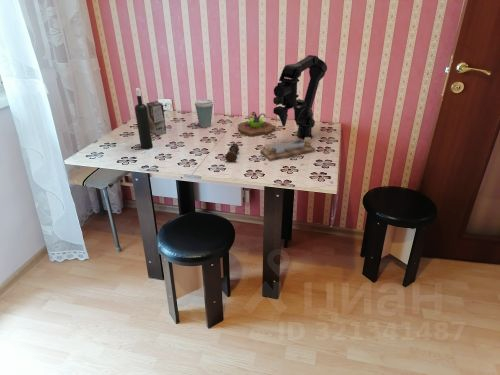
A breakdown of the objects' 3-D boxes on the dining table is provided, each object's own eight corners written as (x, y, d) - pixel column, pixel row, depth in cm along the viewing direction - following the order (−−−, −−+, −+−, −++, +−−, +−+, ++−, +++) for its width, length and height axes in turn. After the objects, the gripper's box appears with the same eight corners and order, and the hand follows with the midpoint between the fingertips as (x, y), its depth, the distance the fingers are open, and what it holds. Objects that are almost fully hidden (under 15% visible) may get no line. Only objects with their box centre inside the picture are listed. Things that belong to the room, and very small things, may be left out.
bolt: (236, 153, 187) (232, 165, 174) (228, 148, 187) (223, 160, 173) (242, 143, 185) (238, 155, 172) (233, 138, 184) (229, 150, 171)
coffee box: (167, 133, 207) (163, 104, 199) (156, 135, 204) (152, 106, 196) (160, 128, 213) (156, 100, 205) (149, 130, 210) (145, 102, 202)
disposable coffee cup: (192, 126, 215) (190, 101, 208) (204, 121, 223) (202, 96, 216) (206, 130, 210) (204, 104, 203) (218, 124, 218) (217, 99, 210)
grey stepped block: (298, 144, 187) (299, 139, 186) (305, 148, 183) (305, 143, 181) (270, 150, 182) (270, 144, 180) (276, 154, 177) (276, 148, 175)
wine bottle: (146, 144, 193) (137, 86, 178) (155, 146, 191) (146, 87, 176) (138, 148, 189) (128, 89, 174) (147, 150, 187) (138, 90, 172)
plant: (231, 128, 214) (231, 109, 208) (260, 122, 222) (260, 103, 217) (249, 139, 199) (249, 119, 193) (279, 132, 207) (280, 113, 202)
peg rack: (304, 144, 191) (304, 134, 189) (315, 151, 183) (315, 141, 181) (260, 153, 182) (260, 142, 180) (269, 161, 174) (269, 150, 172)
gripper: (290, 85, 188) (289, 115, 196) (265, 93, 177) (265, 125, 185) (308, 89, 181) (306, 120, 189) (282, 98, 170) (281, 130, 178)
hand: (289, 123), depth 185 cm, fingers open, 9 cm apart
